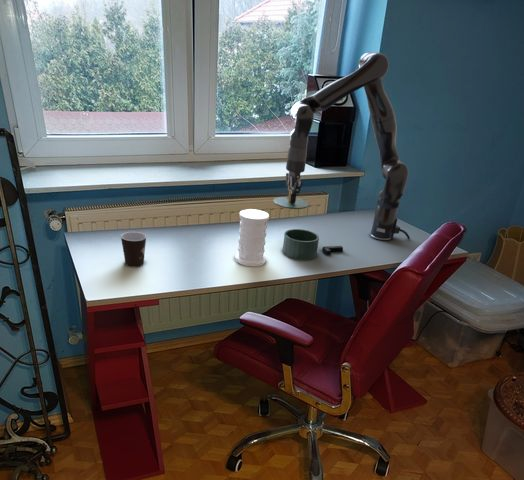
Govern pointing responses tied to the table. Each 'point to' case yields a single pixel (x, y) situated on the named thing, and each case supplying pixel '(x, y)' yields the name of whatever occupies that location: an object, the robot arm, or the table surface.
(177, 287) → the table surface
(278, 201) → the tin lid
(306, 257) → the tin
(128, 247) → the coffee mug
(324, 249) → the hex key
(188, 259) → the table surface
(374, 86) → the robot arm
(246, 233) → the decorative container
